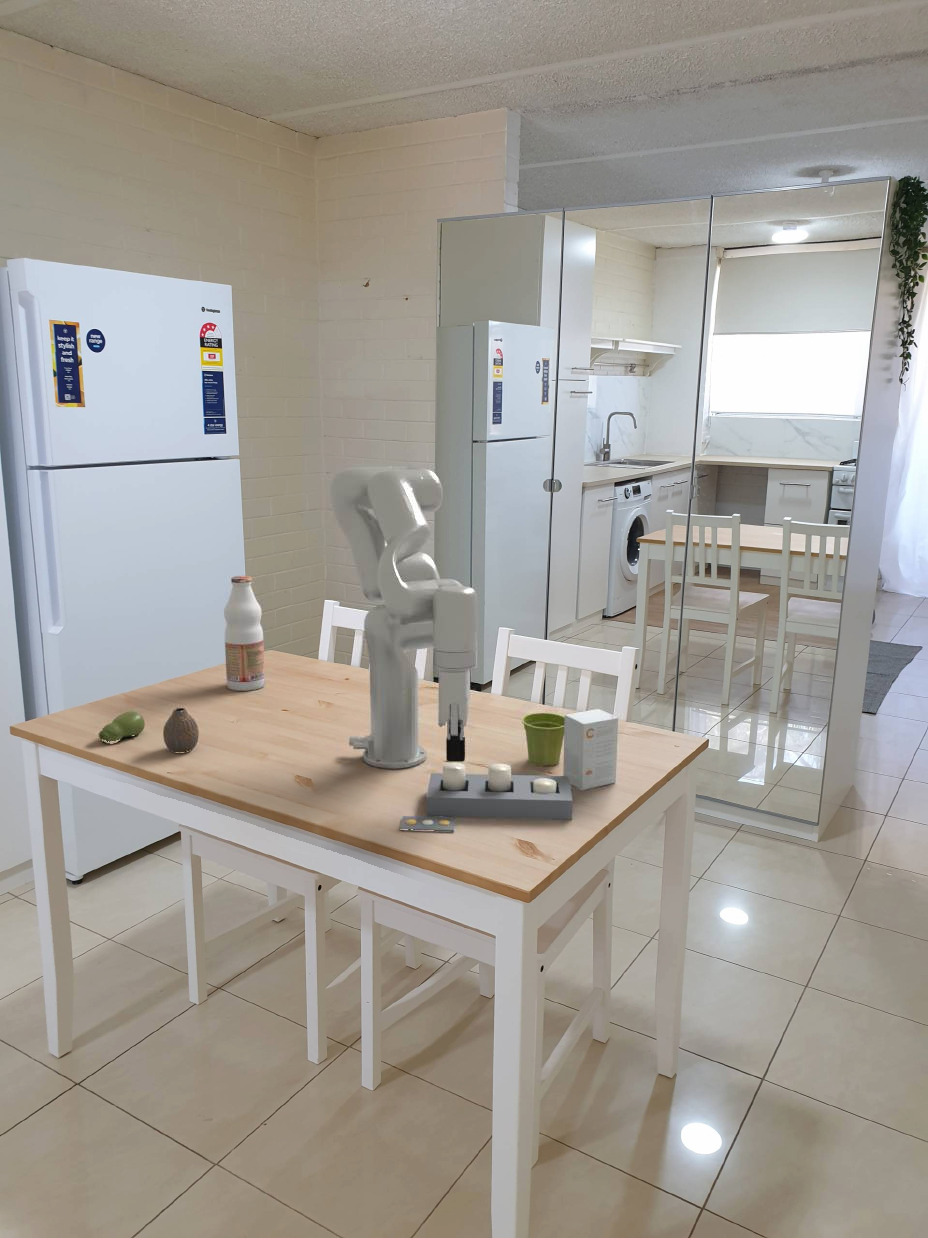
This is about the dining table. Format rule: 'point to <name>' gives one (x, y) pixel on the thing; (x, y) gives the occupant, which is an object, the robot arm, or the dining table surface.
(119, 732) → the pear
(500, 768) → the button mid
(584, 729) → the small box
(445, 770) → the button left
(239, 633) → the fruit juice
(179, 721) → the vase
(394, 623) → the robot arm
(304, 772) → the dining table surface
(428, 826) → the pattern tile
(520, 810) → the board
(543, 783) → the button right
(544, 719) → the plant pot
